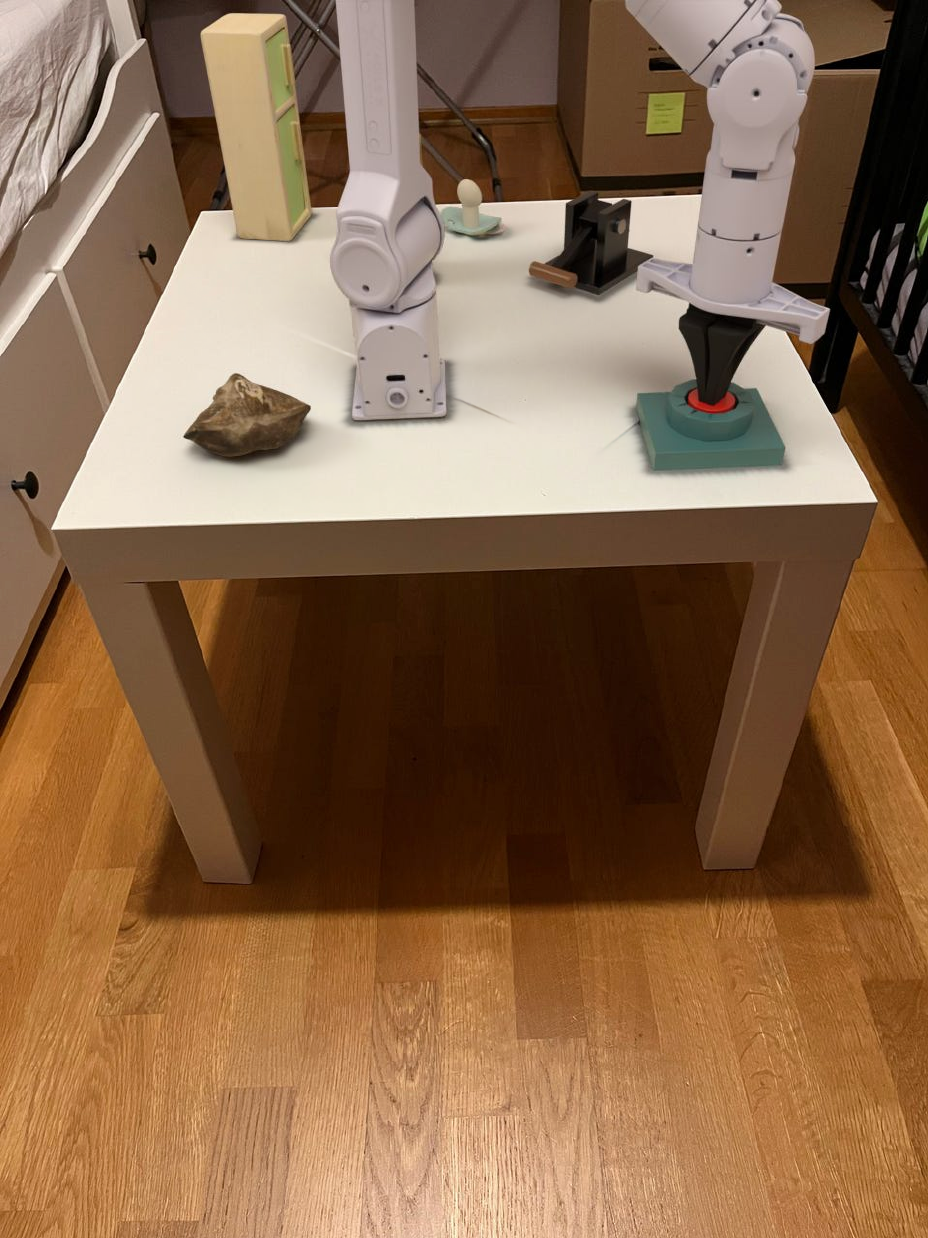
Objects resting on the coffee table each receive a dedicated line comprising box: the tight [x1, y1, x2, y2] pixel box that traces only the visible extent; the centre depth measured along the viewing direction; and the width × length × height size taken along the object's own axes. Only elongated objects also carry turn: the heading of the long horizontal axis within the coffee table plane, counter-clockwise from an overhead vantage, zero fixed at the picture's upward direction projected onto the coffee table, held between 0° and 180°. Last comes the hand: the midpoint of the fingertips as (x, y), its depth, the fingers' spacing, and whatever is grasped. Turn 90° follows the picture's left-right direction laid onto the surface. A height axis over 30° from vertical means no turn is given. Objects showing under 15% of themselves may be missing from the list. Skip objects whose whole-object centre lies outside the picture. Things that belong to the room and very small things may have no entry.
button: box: [687, 389, 735, 414], centre depth 77 cm, size 4×4×2 cm
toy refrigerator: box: [200, 12, 312, 242], centre depth 107 cm, size 8×7×21 cm
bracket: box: [543, 190, 654, 296], centre depth 100 cm, size 10×8×7 cm
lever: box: [528, 199, 613, 289], centre depth 98 cm, size 10×5×2 cm, turn 140°
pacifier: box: [440, 178, 506, 237], centre depth 109 cm, size 7×6×6 cm
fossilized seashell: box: [183, 372, 312, 457], centre depth 79 cm, size 8×7×10 cm
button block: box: [635, 378, 786, 472], centre depth 78 cm, size 9×10×4 cm
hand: (712, 398), depth 77 cm, fingers closed, pressing on button
